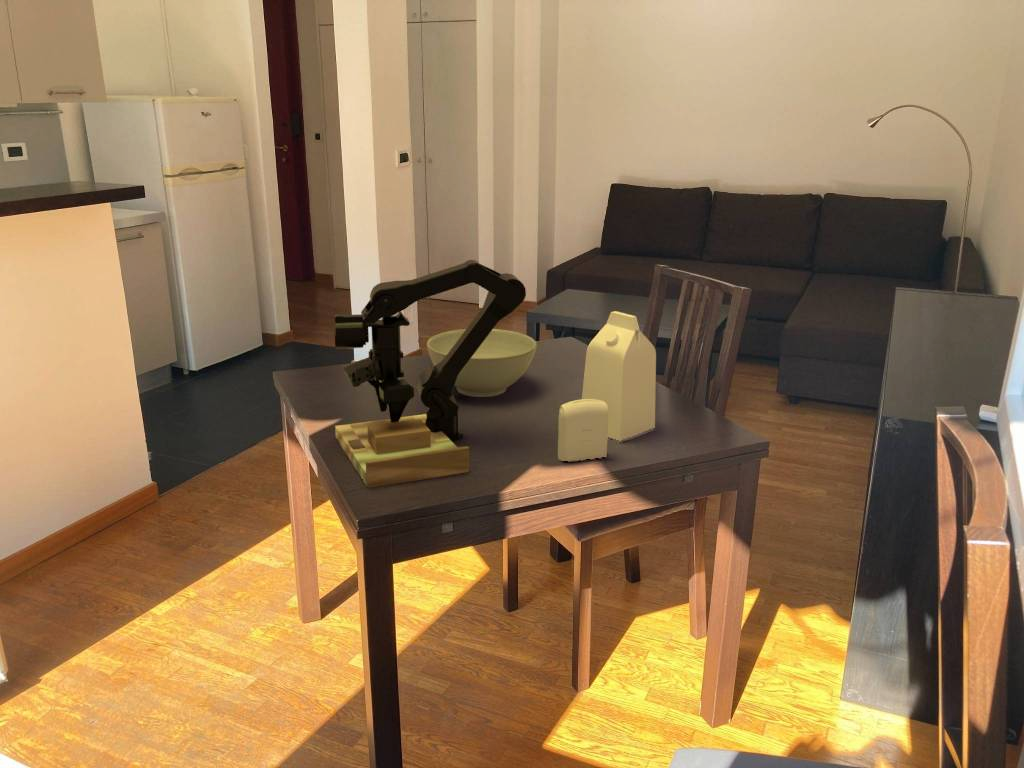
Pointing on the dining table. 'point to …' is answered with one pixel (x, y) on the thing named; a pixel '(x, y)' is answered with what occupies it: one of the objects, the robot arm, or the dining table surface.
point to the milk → (622, 376)
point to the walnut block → (399, 436)
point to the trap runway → (401, 456)
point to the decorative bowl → (487, 360)
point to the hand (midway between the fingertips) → (388, 418)
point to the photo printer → (582, 430)
